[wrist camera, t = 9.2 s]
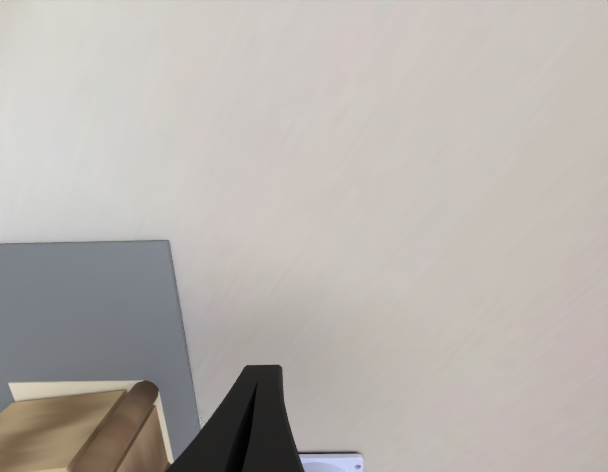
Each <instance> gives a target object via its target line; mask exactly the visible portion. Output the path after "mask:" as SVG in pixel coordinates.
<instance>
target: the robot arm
mask: <svg viewBox="0 0 608 472" xmlns="http://www.w3.org/2000/svg"><path fill="white" fill-rule="evenodd" d="M363 464H364V461H363V456H362V455H360V454H298V451H297V448H296V445H295V442H294V439H293V435H292V432H291V428H290V425H289V421H288V417H287V413H286V408H285V403H284V394H283V376H282V367H281V366H280V365H247V366H246V367H244V369H243V371H242V372H241V374H240V375H239V377H238V379H237V380H236V382H235V383H234V385H233V387H232V388H231V390H230V391H229V393H228V394H227V396H226V397H225V398H224V400H223V401H222V403H221V404H220V405H219V407H218V408H217V410H216V411H215V412H214V414H213V415H212V416H211V418H210V419H209V420H208V422H207V423H206V424H205V425H204V427H203V428H202V429H201V430H200V432H199V433H198V434H197V436H196V437H195V438H194V439H193V440H192V442H191V443H190V444H189V445H188V446H187V448H186V449H185V450H184V451H183V452H182V453H181V454H180V456H179V457H178V458H177V459H176V460H175V461H174V462H173V463H172V464H171V465H170V467H169V468H168V469H167V470H166V471H165V472H363Z"/></svg>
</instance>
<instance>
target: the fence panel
mask: <svg viewBox="0 0 608 472" xmlns="http://www.w3.org/2000/svg"><path fill="white" fill-rule="evenodd" d="M125 397H126V394H125V391H116V392H107V393H98V394H89V395H79V396H70V397H61V398H52V399H43V400H34V401H25V402H16V403H11V404H10V405H9V406H8V407H7V408H5V409H4V410H3V411H2V412H1V413H0V472H72V470H73V467H74V466H75V465H76V463H77V462H78V461H79V459H80V458H81V457H82V455H83V454H84V453H85V451H86V450H87V448H88V447H89V446H90V444H91V443H92V442H93V440H94V439H95V438H96V436H97V435H98V433H99V432H100V431H101V429H102V428H103V427H104V425H105V424H106V423H107V421H108V420H109V418H110V417H111V416H112V414H113V413H114V412H115V410H116V409H117V408H118V406H119V405H120V403H121V402H122V401H123V399H124V398H125Z"/></svg>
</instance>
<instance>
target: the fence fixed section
mask: <svg viewBox="0 0 608 472" xmlns="http://www.w3.org/2000/svg"><path fill="white" fill-rule="evenodd" d="M158 391H159V389H158V387H157V386H156V385H155V384H154V383H152V382H150V381H146V380H144V381H141V382H137V383H136V384H135V385H134V386H133V387H132V388H131V390H130V391H129V393H128V394H127V395H126V397H125V398H124V399H123V401H122V402H121V403H120V405H119V406H118V408H117V409H116V410H115V412H114V413H113V414H112V416H111V417H110V418H109V420H108V421H107V423H106V424H105V425H104V427H103V428H102V429H101V431H100V432H99V433H98V435H97V436H96V438H95V439H94V440H93V442H92V443H91V444H90V446H89V447H88V448H87V450H86V451H85V453H84V454H83V455H82V457H81V458H80V459H79V461H78V462H77V463H76V465H75V466H74V467H73V470H72V472H165V471H166V470H167V469H168V468H169V467H170V465H171V464H170V462H169V461H168V458H167V454H166V449H165V444H164V440H163V435H162V430H161V426H160V421H159V417H158V412H157V407H156V405H153V404H154V402H155V400H156V399H157V397H158Z"/></svg>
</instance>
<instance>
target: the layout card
mask: <svg viewBox="0 0 608 472" xmlns="http://www.w3.org/2000/svg"><path fill="white" fill-rule="evenodd" d="M144 380H146V381H150V382H152V383H154V384H155V385H156V386H157V387H158V389H159V391H158V397H157V399H156V400H155V402H154V404H153V405H156V407H157V412H158V417H159V421H160V426H161V430H162V435H163V440H164V444H165V449H166V454H167V458H168V461H169V462H170V464H172V463H173V462H174V461H175V460H176V459H177V458H178V457H179V456H180V454H181V453H182V452H183V451H184V450H185V449H186V448H187V446H188V445H189V444H190V443H191V442H192V440H193V439H194V438H195V437H196V436H197V434H198V433H199V432H200V425H199V419H198V413H197V407H196V401H195V395H194V389H193V383H192V377H191V371H190V365H189V359H188V353H187V346H186V340H185V334H184V328H183V322H182V316H181V310H180V304H179V298H178V292H177V286H176V280H175V274H174V268H173V262H172V256H171V250H170V244H169V240H152V241H103V242H55V243H6V244H0V413H1V412H2V411H3V410H4V409H5V408H7V407H8V406H9V405H10V404H11V403H16V402H25V401H34V400H43V399H52V398H61V397H70V396H79V395H89V394H98V393H107V392H116V391H125V394H126V395H127V394H128V393H129V391H130V390H131V388H132V387H133V386H134V385H135V384H136V383H137V382H141V381H144Z"/></svg>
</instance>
